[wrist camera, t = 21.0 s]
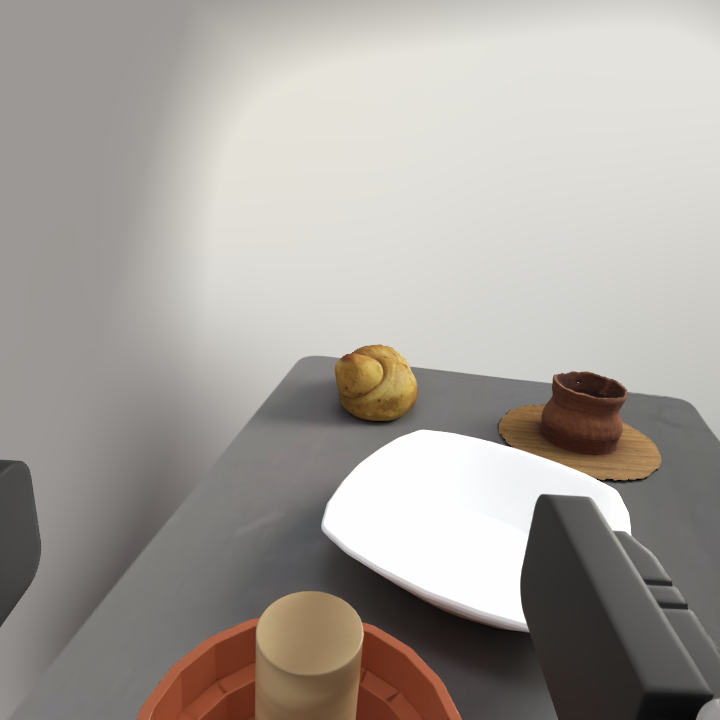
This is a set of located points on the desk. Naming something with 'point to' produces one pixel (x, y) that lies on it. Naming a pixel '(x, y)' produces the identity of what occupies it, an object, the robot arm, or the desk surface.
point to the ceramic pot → (583, 429)
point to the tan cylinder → (308, 659)
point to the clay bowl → (237, 681)
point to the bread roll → (376, 383)
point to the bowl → (454, 519)
